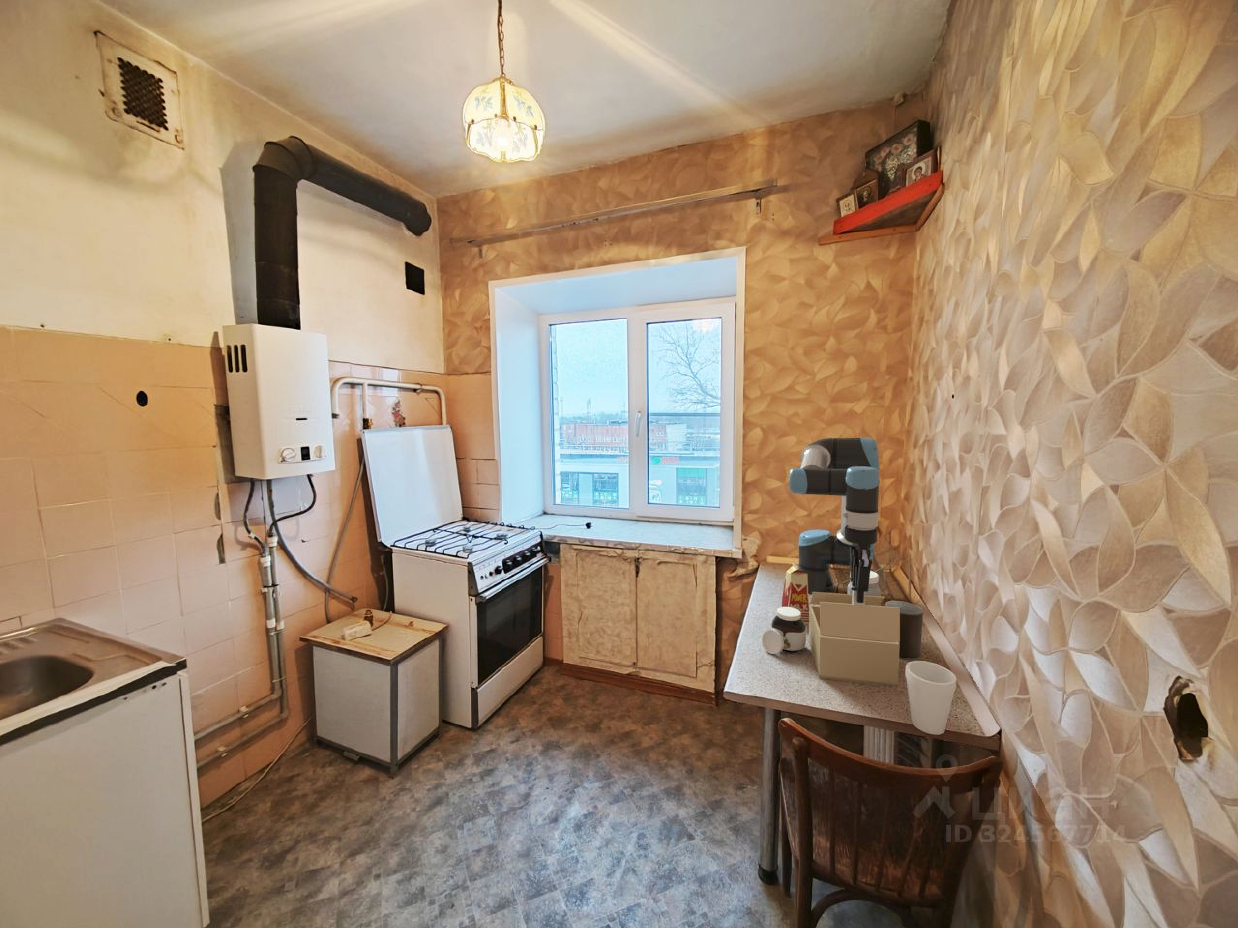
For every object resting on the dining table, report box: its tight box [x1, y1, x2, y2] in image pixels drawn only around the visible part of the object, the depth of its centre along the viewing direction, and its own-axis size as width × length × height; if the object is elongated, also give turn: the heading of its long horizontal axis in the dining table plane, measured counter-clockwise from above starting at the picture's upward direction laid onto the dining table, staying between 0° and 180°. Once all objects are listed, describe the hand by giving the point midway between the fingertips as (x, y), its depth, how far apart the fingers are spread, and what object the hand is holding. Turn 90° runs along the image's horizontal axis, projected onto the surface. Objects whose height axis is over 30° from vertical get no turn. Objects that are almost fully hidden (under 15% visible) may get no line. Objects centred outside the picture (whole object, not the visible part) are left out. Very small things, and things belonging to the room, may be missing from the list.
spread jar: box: [761, 606, 807, 655], centre depth 137 cm, size 12×11×12 cm
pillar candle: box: [884, 600, 924, 660], centre depth 134 cm, size 10×10×15 cm
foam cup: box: [904, 660, 957, 735], centre depth 103 cm, size 10×9×13 cm
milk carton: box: [780, 562, 810, 626], centre depth 156 cm, size 9×9×20 cm
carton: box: [808, 604, 900, 688], centre depth 129 cm, size 20×19×12 cm
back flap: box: [809, 592, 885, 606], centre depth 134 cm, size 9×19×1 cm
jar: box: [846, 570, 882, 596], centre depth 150 cm, size 10×10×18 cm
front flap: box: [819, 602, 900, 642], centre depth 118 cm, size 9×19×1 cm
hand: (858, 612), depth 119 cm, fingers closed
